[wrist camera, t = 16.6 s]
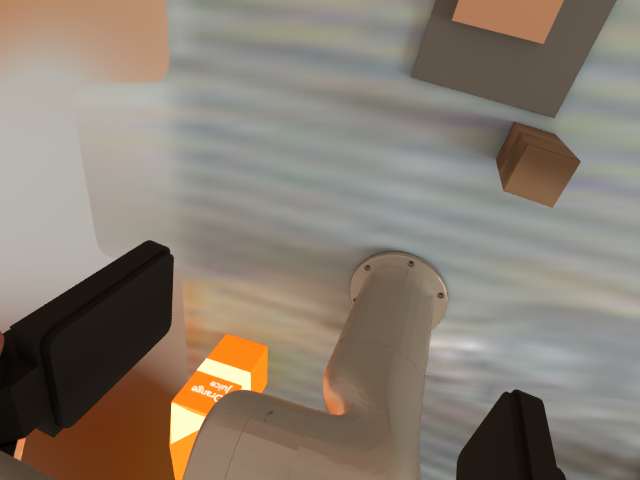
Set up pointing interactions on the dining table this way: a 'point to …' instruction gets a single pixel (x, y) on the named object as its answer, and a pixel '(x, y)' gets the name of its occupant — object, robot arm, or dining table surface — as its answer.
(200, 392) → the orange juice
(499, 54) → the mat
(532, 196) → the block
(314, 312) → the dining table surface
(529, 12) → the tile
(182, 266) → the dining table surface
